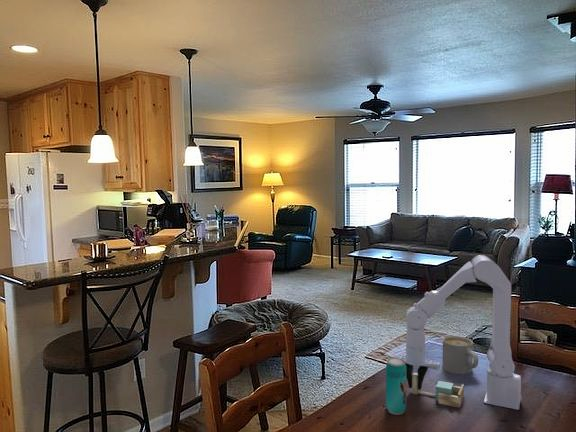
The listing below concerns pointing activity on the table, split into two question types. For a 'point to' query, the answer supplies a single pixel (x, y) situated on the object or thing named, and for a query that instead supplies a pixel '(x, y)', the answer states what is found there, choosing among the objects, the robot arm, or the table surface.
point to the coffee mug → (458, 355)
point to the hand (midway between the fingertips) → (415, 387)
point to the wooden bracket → (452, 397)
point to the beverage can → (396, 386)
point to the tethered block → (440, 387)
